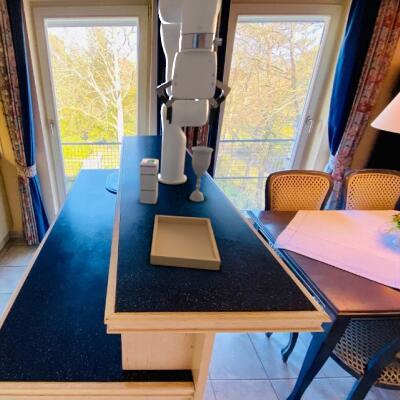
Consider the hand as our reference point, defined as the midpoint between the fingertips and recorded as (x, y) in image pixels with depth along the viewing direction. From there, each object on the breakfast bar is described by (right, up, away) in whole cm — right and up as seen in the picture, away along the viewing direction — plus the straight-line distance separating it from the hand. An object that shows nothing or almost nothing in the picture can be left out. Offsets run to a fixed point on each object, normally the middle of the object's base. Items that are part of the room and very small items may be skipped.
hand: (189, 123), depth 66 cm
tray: (-1, -31, +3) cm, 31 cm away
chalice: (+9, -19, +29) cm, 35 cm away
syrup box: (-8, -20, +27) cm, 35 cm away
